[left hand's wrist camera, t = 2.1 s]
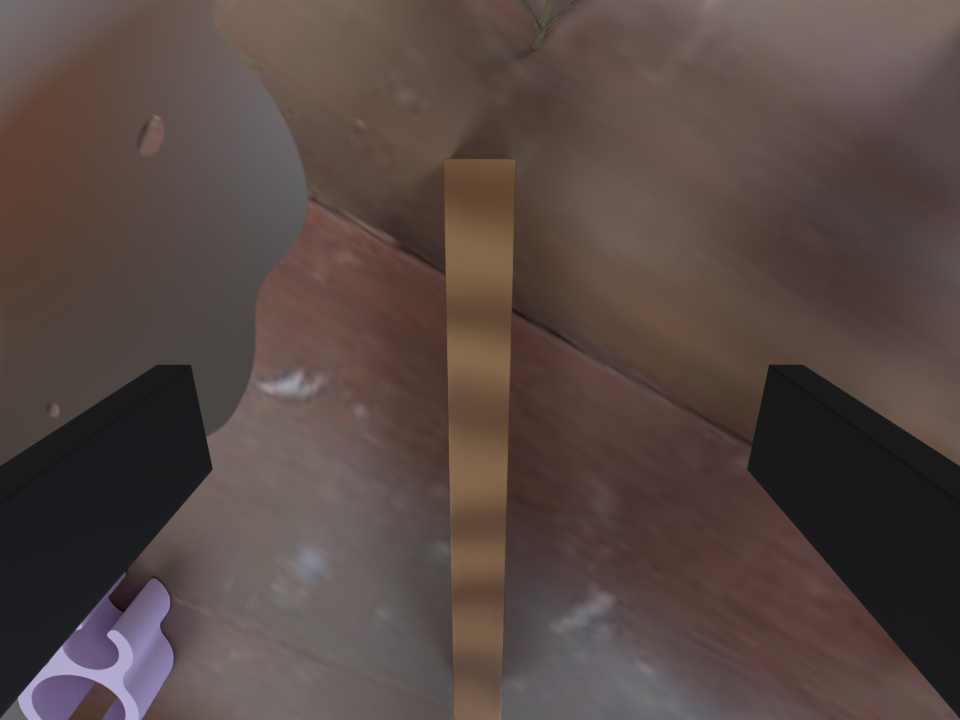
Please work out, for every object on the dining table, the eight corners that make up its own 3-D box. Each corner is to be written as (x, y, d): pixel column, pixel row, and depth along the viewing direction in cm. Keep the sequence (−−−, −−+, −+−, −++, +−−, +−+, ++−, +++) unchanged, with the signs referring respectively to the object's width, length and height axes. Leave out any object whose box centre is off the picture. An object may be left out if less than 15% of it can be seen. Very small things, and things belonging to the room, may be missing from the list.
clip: (80, 556, 58) (30, 606, 52) (194, 590, 60) (159, 643, 53) (58, 677, 65) (11, 735, 58) (161, 705, 66) (127, 764, 60)
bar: (449, 158, 44) (443, 158, 37) (510, 158, 44) (515, 158, 37) (457, 683, 65) (454, 745, 58) (498, 683, 65) (500, 745, 58)
